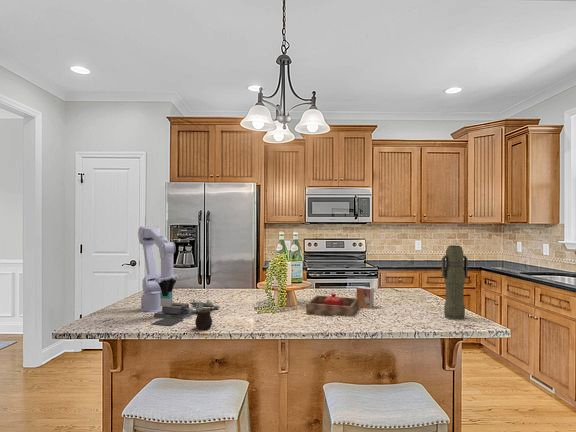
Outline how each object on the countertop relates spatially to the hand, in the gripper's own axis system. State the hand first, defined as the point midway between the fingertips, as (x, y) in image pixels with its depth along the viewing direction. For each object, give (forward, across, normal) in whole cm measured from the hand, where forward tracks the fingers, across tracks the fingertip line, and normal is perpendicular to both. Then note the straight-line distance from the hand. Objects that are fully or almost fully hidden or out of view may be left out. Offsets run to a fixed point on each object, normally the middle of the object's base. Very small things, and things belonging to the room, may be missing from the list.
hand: (166, 295), depth 184 cm
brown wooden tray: (+10, +40, -72) cm, 83 cm away
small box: (+10, +54, -87) cm, 103 cm away
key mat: (+10, -9, -7) cm, 15 cm away
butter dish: (+11, +43, -72) cm, 85 cm away
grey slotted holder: (+8, +4, -2) cm, 10 cm away
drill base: (+10, +4, -2) cm, 11 cm away
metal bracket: (+8, +18, -18) cm, 26 cm away
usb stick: (+5, 0, 0) cm, 5 cm away
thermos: (+10, +43, -130) cm, 138 cm away
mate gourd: (+10, -11, -28) cm, 32 cm away
